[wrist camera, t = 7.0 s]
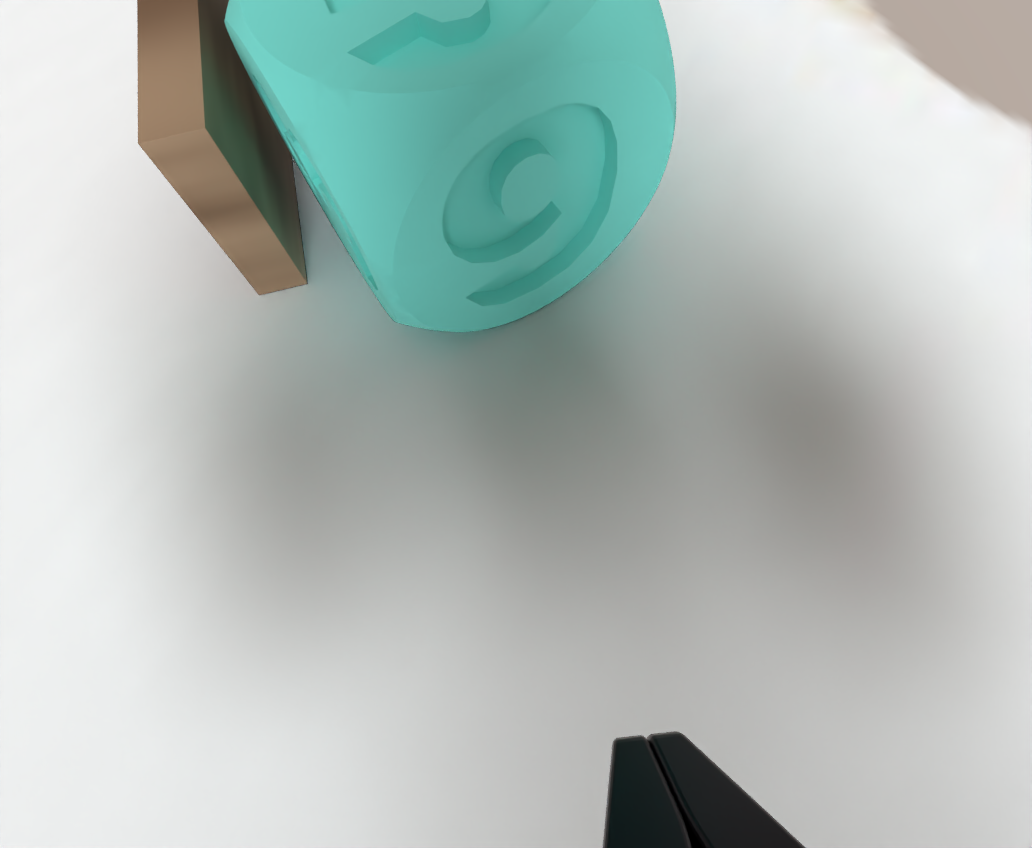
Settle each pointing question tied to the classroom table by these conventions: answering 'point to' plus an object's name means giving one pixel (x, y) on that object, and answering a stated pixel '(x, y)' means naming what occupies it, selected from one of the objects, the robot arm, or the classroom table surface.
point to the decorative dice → (468, 138)
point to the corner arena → (217, 139)
